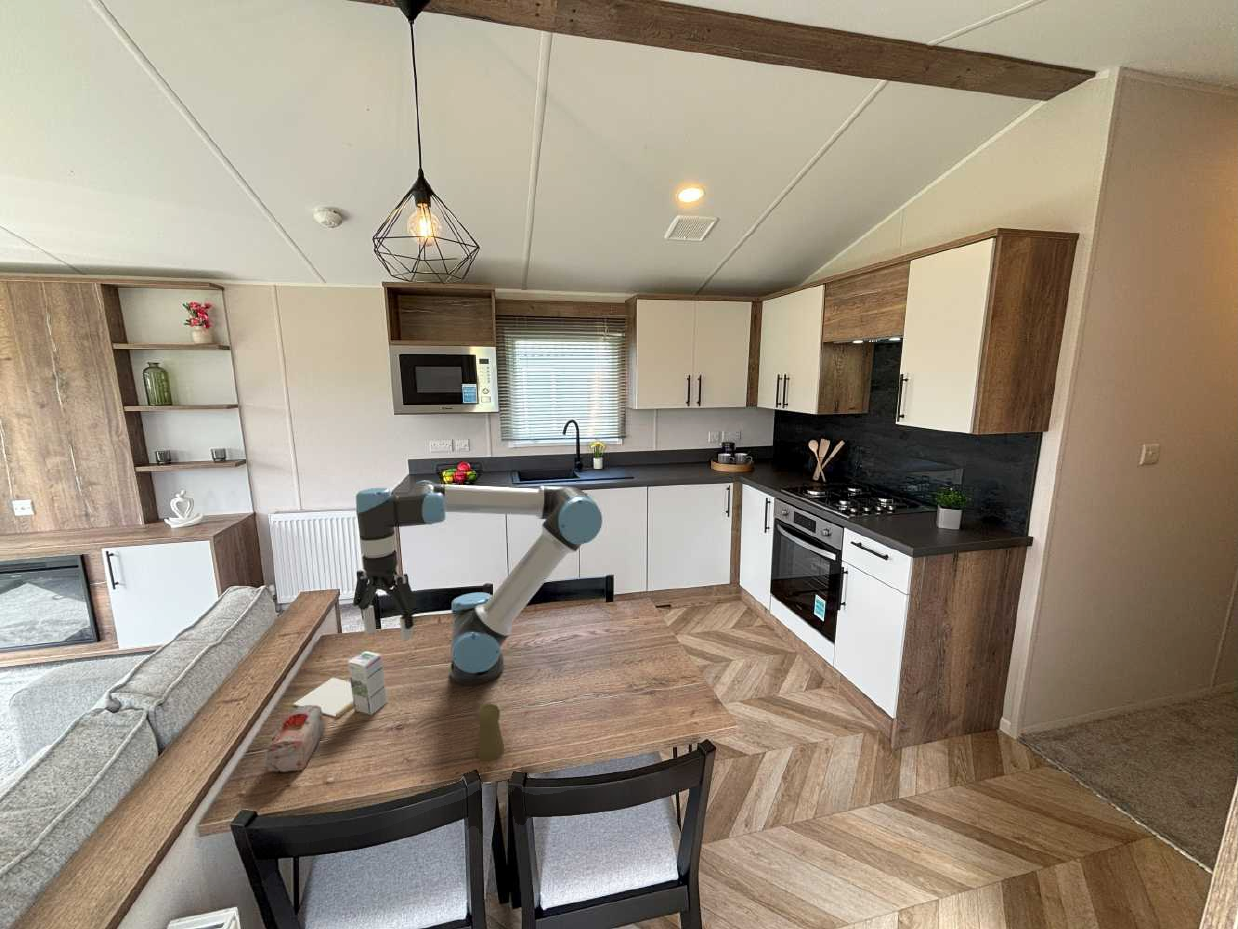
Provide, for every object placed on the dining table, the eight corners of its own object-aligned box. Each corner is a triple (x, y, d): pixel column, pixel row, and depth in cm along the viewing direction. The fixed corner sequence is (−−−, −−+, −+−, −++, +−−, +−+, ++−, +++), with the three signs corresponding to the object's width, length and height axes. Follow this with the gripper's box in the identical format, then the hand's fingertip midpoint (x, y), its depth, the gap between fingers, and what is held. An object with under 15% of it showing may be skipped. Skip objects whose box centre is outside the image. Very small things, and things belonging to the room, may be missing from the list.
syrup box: (388, 702, 132) (382, 652, 129) (370, 716, 126) (364, 665, 124) (371, 698, 134) (365, 649, 131) (353, 712, 128) (346, 661, 125)
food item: (306, 774, 109) (300, 734, 107) (266, 780, 107) (259, 741, 105) (329, 730, 122) (323, 695, 120) (293, 736, 120) (287, 700, 118)
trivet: (375, 689, 137) (375, 686, 137) (338, 718, 126) (337, 714, 126) (332, 678, 142) (332, 675, 142) (293, 705, 131) (292, 701, 131)
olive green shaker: (480, 742, 117) (476, 700, 115) (505, 740, 117) (503, 699, 115) (474, 762, 111) (471, 718, 109) (502, 759, 112) (499, 716, 109)
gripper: (429, 552, 118) (437, 636, 122) (355, 542, 126) (365, 621, 130) (406, 563, 111) (415, 652, 116) (329, 552, 119) (340, 635, 123)
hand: (388, 635), depth 123 cm, fingers open, 11 cm apart
